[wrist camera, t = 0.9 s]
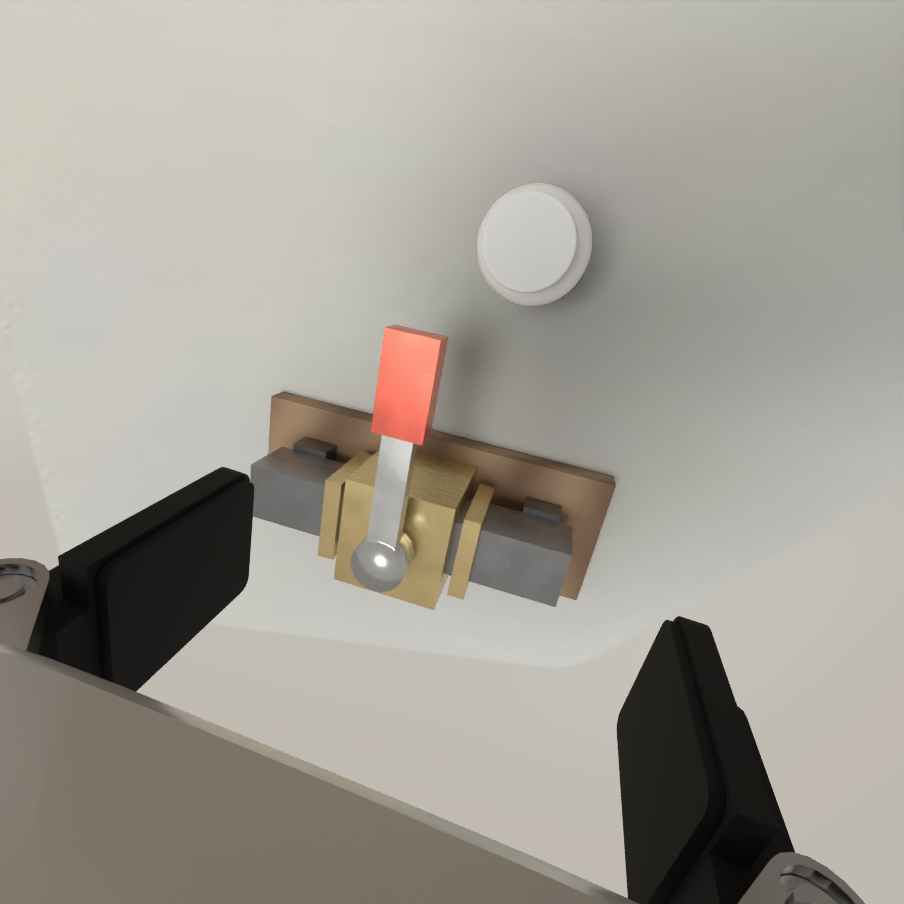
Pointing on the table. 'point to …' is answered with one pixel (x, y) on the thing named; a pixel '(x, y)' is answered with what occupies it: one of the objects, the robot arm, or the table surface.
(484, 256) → the pill bottle
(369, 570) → the lever
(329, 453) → the valve
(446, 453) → the mount board
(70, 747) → the robot arm
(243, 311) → the table surface
